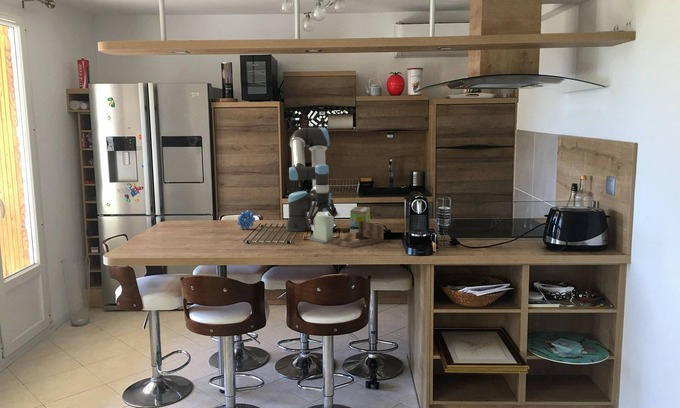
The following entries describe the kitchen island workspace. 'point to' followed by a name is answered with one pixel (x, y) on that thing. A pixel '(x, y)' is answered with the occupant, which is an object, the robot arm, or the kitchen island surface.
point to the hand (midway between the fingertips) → (322, 228)
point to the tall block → (323, 227)
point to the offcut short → (348, 236)
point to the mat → (317, 240)
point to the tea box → (358, 217)
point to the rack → (365, 230)
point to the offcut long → (350, 240)
